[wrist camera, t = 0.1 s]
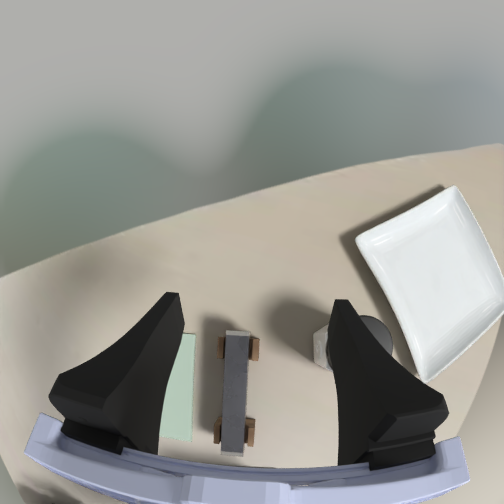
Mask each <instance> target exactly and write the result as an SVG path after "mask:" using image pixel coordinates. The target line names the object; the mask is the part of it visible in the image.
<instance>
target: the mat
mask: <svg viewBox="0 0 504 504" xmlns="http://www.w3.org/2000/svg"><path fill="white" fill-rule="evenodd" d="M195 342H196V335H194V334H184V333H183V335H182V340H181V344H180V347H179V350H178V353H177V356H176V359H175V362H174V365H173V368H172V371H171V374H170V378H169V381H168V385H167V389H166V394H165V399H164V404H163V411H162V417H161V424H160V433H159V436H161V437H166V438H171V439H177V440H183V441H190V442H192V415H193V383H194V361H195Z"/></svg>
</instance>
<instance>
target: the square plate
mask: <svg viewBox="0 0 504 504" xmlns="http://www.w3.org/2000/svg"><path fill="white" fill-rule="evenodd" d="M355 242H356V245H357V247H358V249H359V251H360V252H361V254H362V256H363V258H364V259H365V261H366V263H367V264H368V266H369V268H370V269H371V271H372V273H373V274H374V276H375V278H376V280H377V281H378V283H379V285H380V286H381V288H382V290H383V292H384V294H385V296H386V297H387V299H388V301H389V303H390V305H391V307H392V309H393V311H394V313H395V315H396V317H397V320H398V322H399V324H400V326H401V329H402V331H403V334H404V336H405V339H406V341H407V344H408V347H409V349H410V352H411V355H412V358H413V361H414V364H415V366H416V369H417V372H418V375H419V377H420V379H421V381H422V382H423V383H425V384H426V383H428V382H430V381H431V380H433V379H434V378H435V377H437V376H438V375H439V374H440V373H441V372H443V371H444V370H445V369H446V368H447V367H448V366H450V365H451V364H452V363H453V362H454V361H455V360H456V359H458V358H459V357H460V356H461V355H462V354H463V353H464V352H465V351H466V350H467V349H468V348H469V347H471V346H472V345H473V344H474V343H475V342H476V341H477V340H478V339H479V338H480V337H481V336H482V335H483V334H484V333H485V332H486V331H487V330H488V329H489V328H490V327H491V326H492V325H493V324H494V323H495V322H496V321H497V320H498V319H499V318H500V317H501V316H502V315H503V314H504V278H503V275H502V273H501V270H500V268H499V266H498V263H497V261H496V259H495V256H494V254H493V252H492V250H491V248H490V245H489V243H488V241H487V239H486V237H485V235H484V233H483V231H482V229H481V227H480V225H479V223H478V222H477V220H476V218H475V216H474V214H473V212H472V211H471V209H470V207H469V206H468V204H467V202H466V200H465V199H464V197H463V196H462V194H461V192H460V191H459V189H458V188H457V187H456V186H455V185H452V186H450V187H448V188H446V189H444V190H442V191H441V192H439V193H438V194H436V195H434V196H433V197H431V198H429V199H428V200H426V201H424V202H422V203H421V204H419V205H417V206H415V207H413V208H411V209H409V210H407V211H405V212H403V213H401V214H400V215H397V216H395V217H393V218H391V219H389V220H387V221H385V222H383V223H381V224H379V225H377V226H375V227H373V228H371V229H368V230H367V231H365V232H363V233H361V234H359V235H358V236H357V237H356V238H355Z"/></svg>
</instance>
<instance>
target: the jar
mask: <svg viewBox="0 0 504 504" xmlns="http://www.w3.org/2000/svg"><path fill="white" fill-rule="evenodd" d="M360 318H361V319H362V321H363V322H364V323H365V325H366V326H367V328H368V329H369V330H370V331H371V333H372V334H373V335H374V337H375V338H376V339H377V340H378V342H379V343H380V344H381V345H382V346H383V347H384V349H385V350H386V351H387V352H388V353H389V354H390V355H391V356H392V351H393V342H392V337H391V334H390V332H389V330H388V328H387V327H386V326H385V325H384V323H382V322H381V321H380V320H378V319H377V318H374V317H372V316H367V315H360ZM328 326H329V324H327V325H326V326H324V327H323V328H321V329H320V330H318V331H317V332H315V333H314V334H313V341H314V363H316V364H317V365H319V366H321V367H323V368H325V369H327V370H329V371H331V372H333V368H332V363H331V358H330V353H329V345H328V332H327V329H328Z"/></svg>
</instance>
